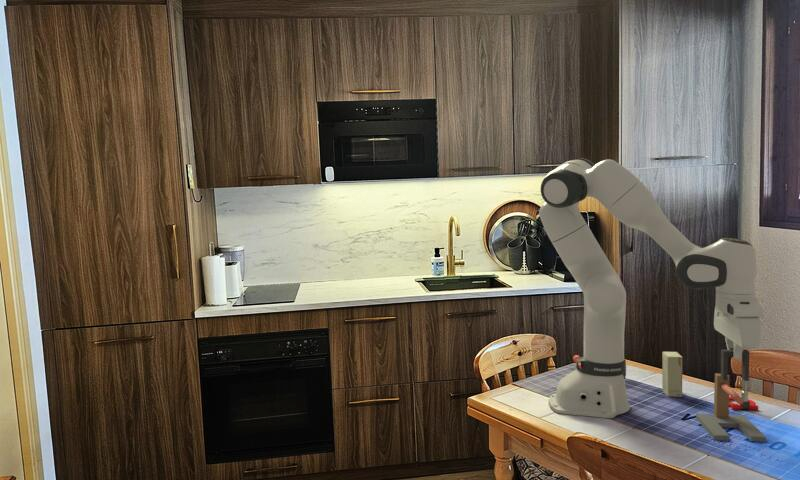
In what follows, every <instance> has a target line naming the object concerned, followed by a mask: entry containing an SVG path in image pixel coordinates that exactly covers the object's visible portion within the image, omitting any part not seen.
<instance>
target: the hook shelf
mask: <svg viewBox="0 0 800 480" xmlns="http://www.w3.org/2000/svg"><path fill="white" fill-rule="evenodd" d="M730 379H731V378H730V375H729V374H728V380H722V379H721V373H716V372H715V373H714V389H713V390H714V391H713V392H714V393H713V395H714V399H713V413H695V419H696V420H697V421H698V423H699V424H700V425H701V426H702V427H703V428H704V430H705V431H706V432H707V433H708V435H709V436H710V437H711V438H712V439H713V440H715V441H730V434H728V432H727V431H726V430H725V428H729V429H730V428H731V429H738V430H739V431H740V432H741V433H742V434H743V435H744V436H745V437H746V436H747V437H748V438H747V437H746V438H747V439H749V441H751V442H764V441H766V442H767V436H766V435H765V434H764V433H763V432H762V430H760V429H759V428H758V427H756V426H755V424H753V422H751V421H750V419H748V418H747V417H746V416H745V415H744V414H730V413H729V411H730V406H729V402H730V401H729V397H732V398H733V399H734V400H735V401H734V402H736V404H738V405H740V404H743V403H744V400H743V399H742V396H740V395H739V394H738V393H737V392H736V391H735V390H734V389H732V388H731V386H730Z"/></svg>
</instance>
